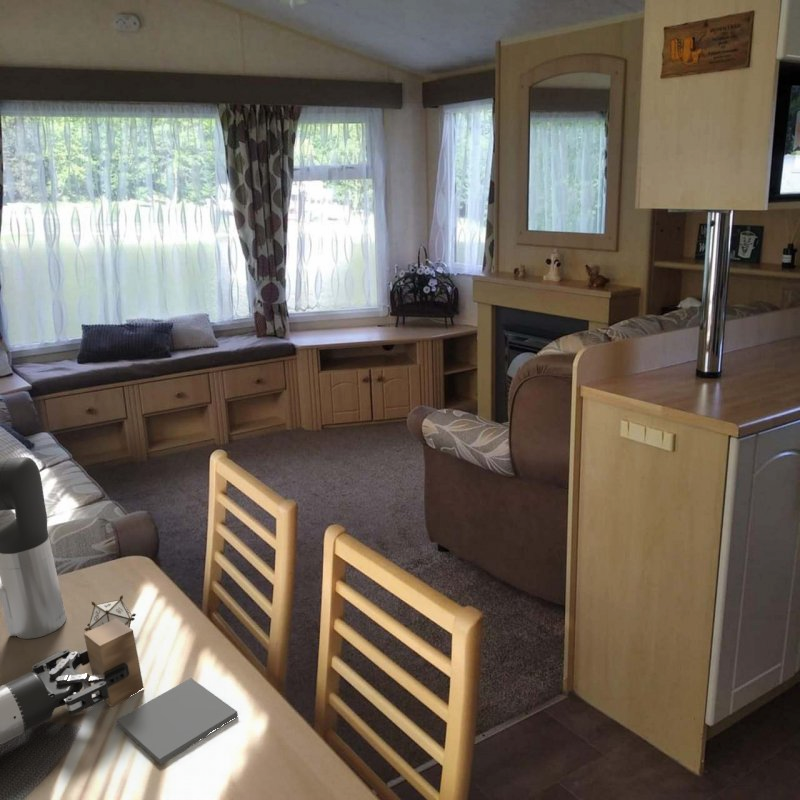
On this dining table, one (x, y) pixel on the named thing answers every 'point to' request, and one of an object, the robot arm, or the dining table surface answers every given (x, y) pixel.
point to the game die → (110, 614)
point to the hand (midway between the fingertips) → (114, 658)
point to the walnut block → (114, 657)
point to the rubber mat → (175, 720)
